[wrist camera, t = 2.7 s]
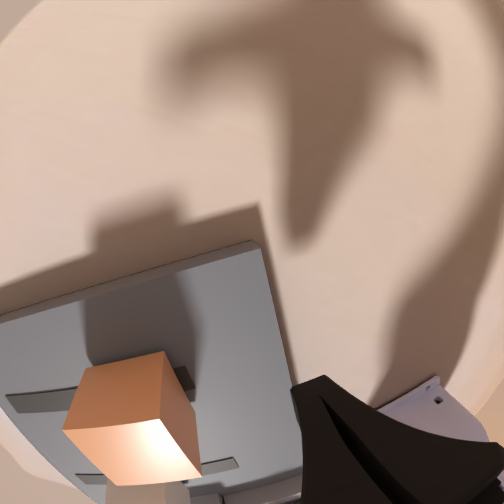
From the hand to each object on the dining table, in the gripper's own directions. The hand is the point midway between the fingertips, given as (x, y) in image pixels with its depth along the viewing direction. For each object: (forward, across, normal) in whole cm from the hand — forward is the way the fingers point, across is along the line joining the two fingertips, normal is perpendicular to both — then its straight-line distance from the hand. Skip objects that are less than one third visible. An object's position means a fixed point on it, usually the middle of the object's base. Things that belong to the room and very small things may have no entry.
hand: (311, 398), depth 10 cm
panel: (+5, +9, +8) cm, 13 cm away
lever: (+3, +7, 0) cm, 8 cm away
